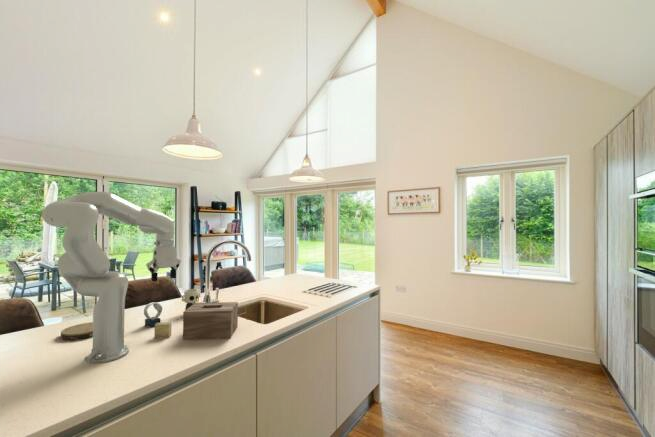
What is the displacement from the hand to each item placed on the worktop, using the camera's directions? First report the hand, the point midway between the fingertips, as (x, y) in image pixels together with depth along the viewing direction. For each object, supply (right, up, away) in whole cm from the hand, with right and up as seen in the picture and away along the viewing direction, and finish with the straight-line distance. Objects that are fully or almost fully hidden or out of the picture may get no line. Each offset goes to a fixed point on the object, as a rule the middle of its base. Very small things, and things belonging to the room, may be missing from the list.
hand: (164, 279), depth 139 cm
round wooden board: (-31, -23, -8) cm, 40 cm away
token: (+6, -23, -11) cm, 26 cm away
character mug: (+3, -24, +21) cm, 32 cm away
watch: (-7, -23, +3) cm, 25 cm away
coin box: (+26, -23, -7) cm, 35 cm away
